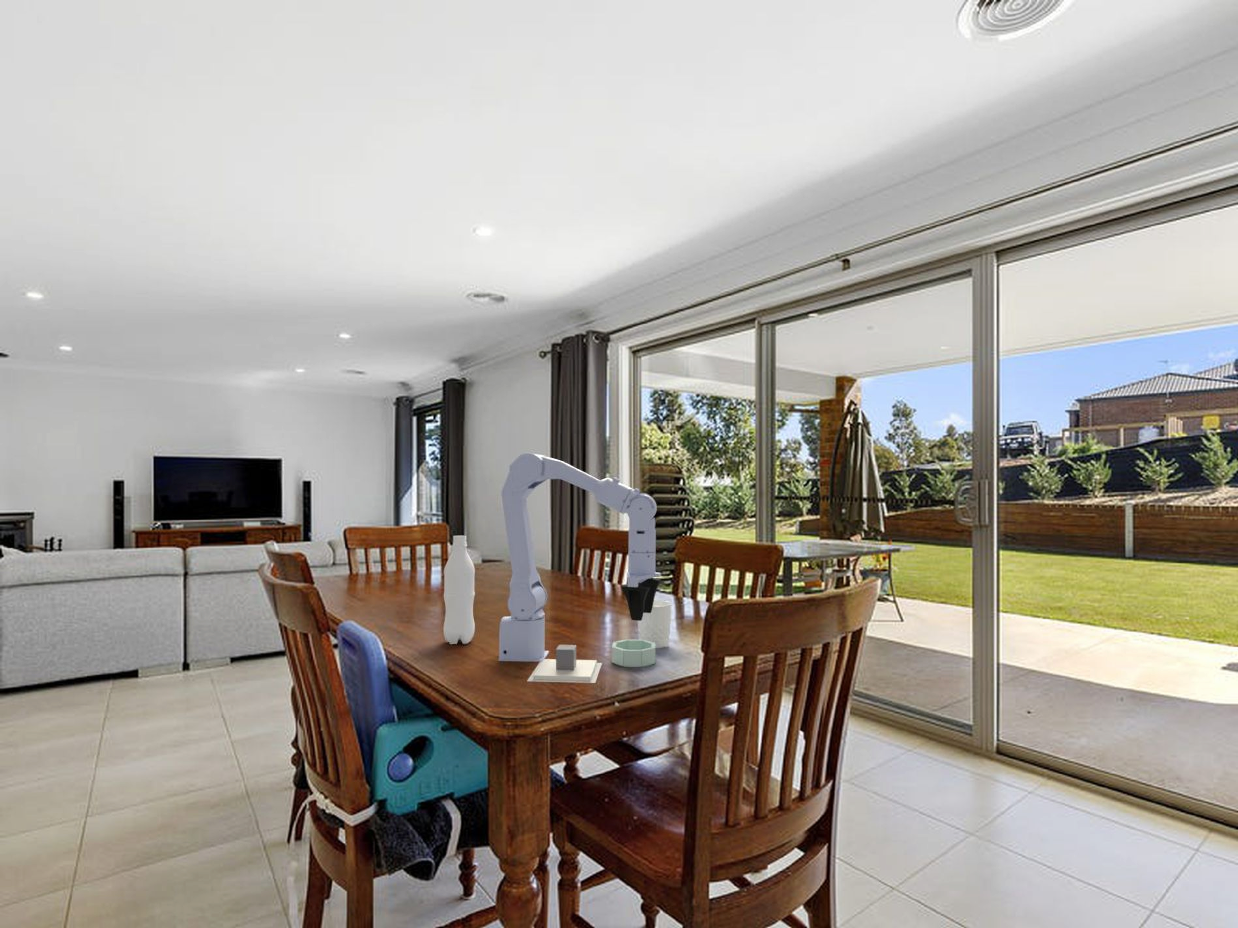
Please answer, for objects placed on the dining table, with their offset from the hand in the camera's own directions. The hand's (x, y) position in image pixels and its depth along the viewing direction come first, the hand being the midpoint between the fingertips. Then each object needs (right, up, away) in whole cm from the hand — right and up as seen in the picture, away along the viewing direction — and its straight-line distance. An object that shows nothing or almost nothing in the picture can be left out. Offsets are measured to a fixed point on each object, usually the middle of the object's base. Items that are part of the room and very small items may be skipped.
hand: (641, 616), depth 137 cm
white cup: (+3, -10, +14) cm, 17 cm away
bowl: (-2, -10, 0) cm, 10 cm away
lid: (-15, -9, -8) cm, 19 cm away
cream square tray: (-15, -10, -8) cm, 20 cm away
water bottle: (-42, -10, +17) cm, 47 cm away
